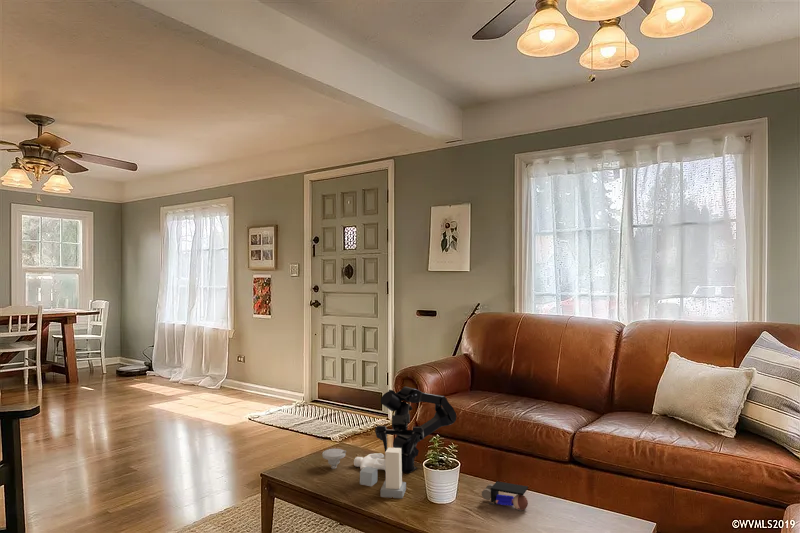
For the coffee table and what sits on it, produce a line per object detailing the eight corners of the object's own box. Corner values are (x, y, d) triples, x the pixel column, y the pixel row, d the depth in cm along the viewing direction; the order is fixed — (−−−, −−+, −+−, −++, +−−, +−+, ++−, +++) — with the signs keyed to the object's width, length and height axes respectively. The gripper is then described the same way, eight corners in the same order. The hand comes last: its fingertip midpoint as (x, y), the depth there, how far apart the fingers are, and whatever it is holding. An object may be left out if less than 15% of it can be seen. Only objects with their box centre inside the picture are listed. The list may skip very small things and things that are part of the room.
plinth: (385, 488, 187) (385, 480, 187) (406, 490, 186) (406, 482, 186) (380, 498, 179) (380, 489, 179) (402, 499, 178) (402, 491, 178)
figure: (404, 463, 207) (362, 459, 215) (401, 449, 205) (359, 446, 213) (394, 481, 197) (350, 477, 205) (390, 467, 195) (347, 463, 203)
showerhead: (343, 454, 201) (319, 453, 203) (343, 472, 201) (319, 471, 203) (349, 446, 211) (326, 445, 212) (349, 464, 211) (326, 462, 212)
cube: (366, 479, 195) (365, 466, 195) (377, 481, 193) (377, 468, 193) (359, 484, 190) (359, 471, 190) (371, 486, 188) (371, 473, 188)
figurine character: (482, 509, 172) (525, 514, 165) (479, 486, 173) (522, 491, 166) (489, 501, 178) (531, 506, 171) (486, 479, 179) (528, 483, 171)
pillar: (388, 482, 185) (388, 447, 186) (402, 483, 184) (401, 448, 185) (385, 488, 180) (385, 452, 181) (399, 489, 180) (398, 452, 180)
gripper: (375, 405, 197) (370, 442, 186) (422, 406, 194) (420, 444, 183) (379, 419, 205) (374, 456, 194) (424, 420, 202) (422, 458, 191)
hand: (397, 453), depth 190 cm, fingers open, 9 cm apart
